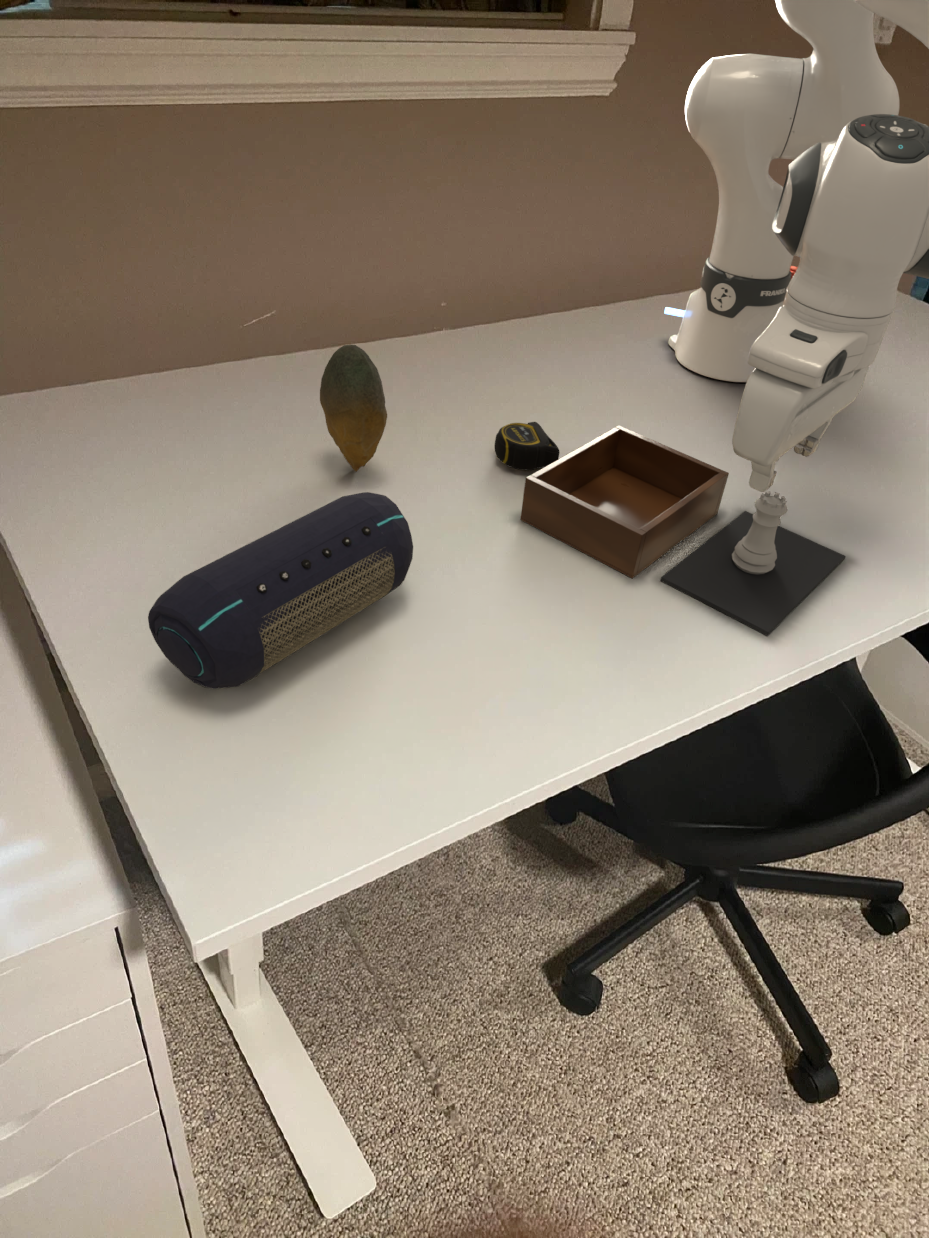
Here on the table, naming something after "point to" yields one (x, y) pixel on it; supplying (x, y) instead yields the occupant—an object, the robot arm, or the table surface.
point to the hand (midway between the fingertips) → (782, 469)
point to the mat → (753, 575)
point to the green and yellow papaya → (353, 404)
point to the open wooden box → (623, 499)
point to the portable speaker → (282, 590)
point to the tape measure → (525, 446)
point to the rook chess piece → (761, 536)
